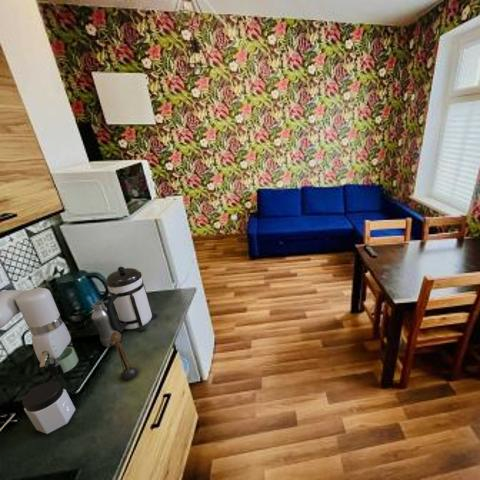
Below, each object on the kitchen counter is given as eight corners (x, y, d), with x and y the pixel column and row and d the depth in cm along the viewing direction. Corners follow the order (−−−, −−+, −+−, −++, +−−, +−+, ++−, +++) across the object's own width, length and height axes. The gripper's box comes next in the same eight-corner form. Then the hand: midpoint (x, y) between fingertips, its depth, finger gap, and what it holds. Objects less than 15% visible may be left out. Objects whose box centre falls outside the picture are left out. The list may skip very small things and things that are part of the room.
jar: (63, 430, 80) (48, 403, 75) (30, 437, 78) (12, 410, 73) (80, 403, 88) (67, 377, 83) (50, 408, 86) (35, 382, 81)
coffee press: (113, 323, 123) (93, 266, 111) (152, 309, 133) (137, 255, 121) (119, 345, 111) (96, 283, 99) (161, 327, 121) (145, 270, 109)
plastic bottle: (103, 351, 108) (87, 311, 100) (102, 341, 112) (86, 302, 105) (122, 344, 111) (108, 304, 104) (120, 335, 116) (107, 296, 109)
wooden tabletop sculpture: (133, 382, 95) (118, 339, 87) (118, 385, 94) (101, 341, 86) (139, 369, 100) (124, 327, 92) (124, 371, 99) (109, 329, 91)
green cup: (45, 377, 89) (39, 365, 87) (57, 360, 95) (52, 349, 93) (72, 372, 91) (67, 360, 89) (82, 356, 98) (78, 344, 96)
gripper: (47, 310, 93) (64, 349, 99) (12, 346, 78) (35, 389, 84) (73, 306, 95) (88, 344, 102) (44, 340, 80) (64, 383, 87)
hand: (64, 364), depth 93 cm, fingers closed on green cup, 7 cm apart
